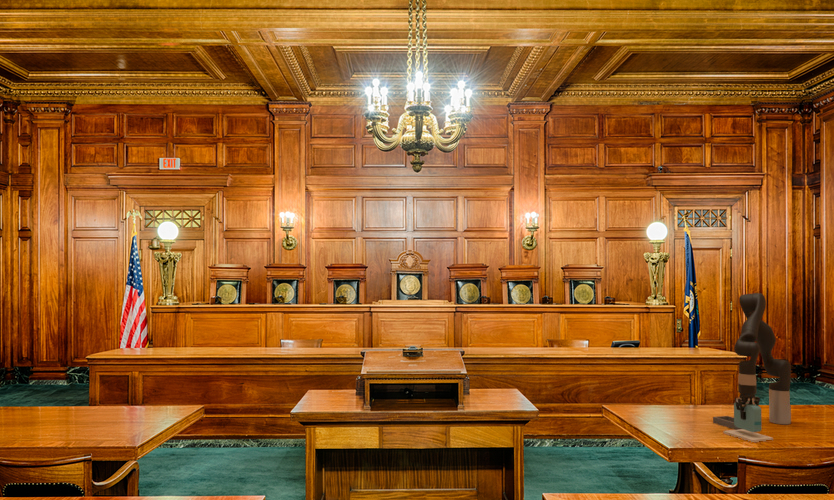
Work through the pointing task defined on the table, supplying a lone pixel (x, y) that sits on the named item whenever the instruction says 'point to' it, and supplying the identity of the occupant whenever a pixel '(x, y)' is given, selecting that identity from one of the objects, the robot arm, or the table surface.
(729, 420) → the holder box
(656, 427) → the table surface
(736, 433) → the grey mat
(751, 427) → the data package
